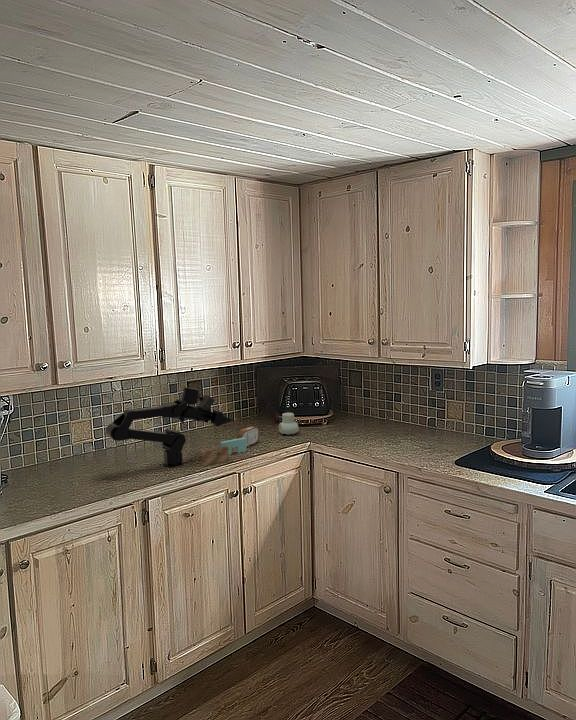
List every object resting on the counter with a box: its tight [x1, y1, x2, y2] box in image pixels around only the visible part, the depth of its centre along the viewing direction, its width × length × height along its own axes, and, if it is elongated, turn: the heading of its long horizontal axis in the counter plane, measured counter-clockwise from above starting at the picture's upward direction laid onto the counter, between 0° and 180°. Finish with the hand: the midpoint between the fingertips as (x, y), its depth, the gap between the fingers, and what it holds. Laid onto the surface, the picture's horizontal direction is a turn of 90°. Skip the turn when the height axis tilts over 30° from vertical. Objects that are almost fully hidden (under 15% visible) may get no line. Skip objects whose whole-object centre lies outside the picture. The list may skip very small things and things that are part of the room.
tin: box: [236, 425, 260, 448], centre depth 277 cm, size 15×3×8 cm, turn 149°
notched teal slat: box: [219, 438, 248, 456], centre depth 264 cm, size 12×2×6 cm, turn 126°
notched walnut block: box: [200, 446, 230, 467], centre depth 251 cm, size 12×2×6 cm, turn 125°
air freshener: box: [278, 412, 300, 436], centre depth 297 cm, size 11×8×10 cm
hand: (225, 418), depth 263 cm, fingers open, 9 cm apart
